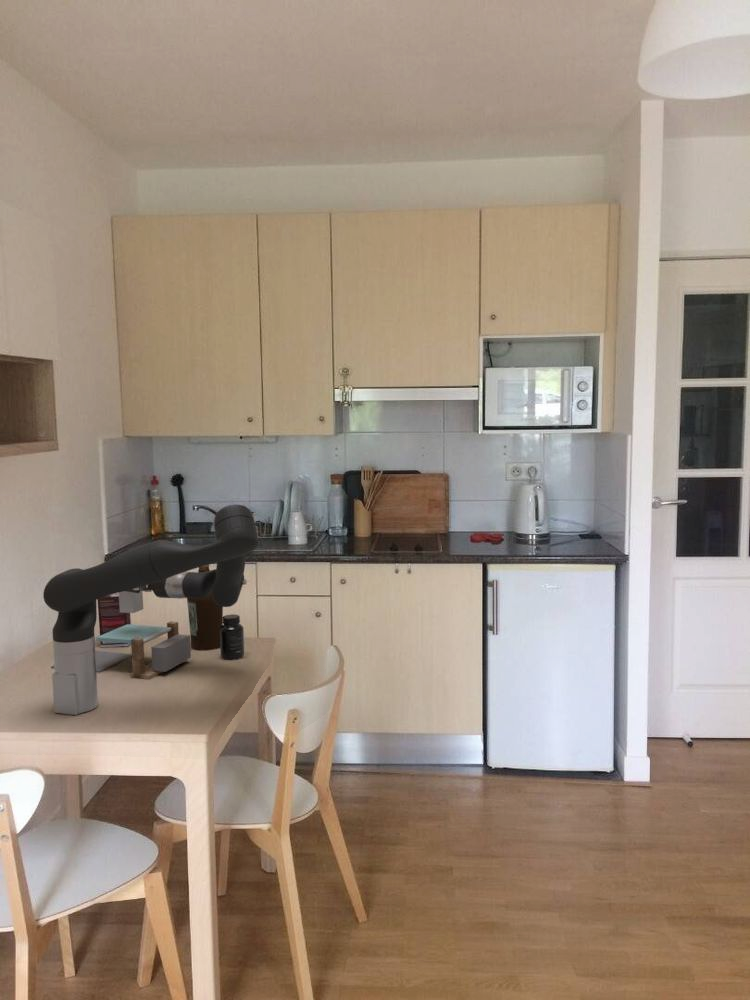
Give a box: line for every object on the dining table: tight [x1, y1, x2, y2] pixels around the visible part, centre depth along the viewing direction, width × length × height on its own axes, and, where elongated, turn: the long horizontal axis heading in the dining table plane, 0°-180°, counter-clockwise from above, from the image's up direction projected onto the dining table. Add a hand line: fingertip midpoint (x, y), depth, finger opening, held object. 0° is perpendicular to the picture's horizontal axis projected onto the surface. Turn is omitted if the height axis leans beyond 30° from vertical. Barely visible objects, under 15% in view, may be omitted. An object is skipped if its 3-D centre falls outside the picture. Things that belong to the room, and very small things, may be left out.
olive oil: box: [186, 564, 224, 651], centre depth 233 cm, size 11×11×25 cm
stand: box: [129, 621, 179, 680], centre depth 214 cm, size 6×19×10 cm, turn 163°
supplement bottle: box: [219, 613, 245, 661], centre depth 223 cm, size 7×7×12 cm
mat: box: [50, 650, 132, 673], centre depth 221 cm, size 16×16×1 cm
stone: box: [119, 591, 144, 614], centre depth 214 cm, size 4×4×14 cm
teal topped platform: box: [95, 624, 192, 673], centre depth 215 cm, size 21×14×8 cm, turn 73°
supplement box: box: [97, 593, 132, 648], centre depth 237 cm, size 9×5×16 cm, turn 94°
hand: (121, 582), depth 215 cm, fingers closed on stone, 4 cm apart
